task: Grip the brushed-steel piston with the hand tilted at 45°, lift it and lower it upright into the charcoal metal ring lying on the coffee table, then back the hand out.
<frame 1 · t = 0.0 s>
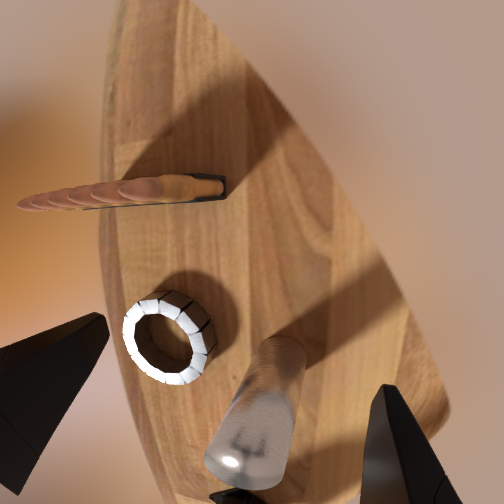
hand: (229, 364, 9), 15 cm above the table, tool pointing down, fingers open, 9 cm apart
piston: (281, 358, 25), on the table
ammunition clip: (166, 191, 25), on the table
ring: (174, 333, 27), on the table
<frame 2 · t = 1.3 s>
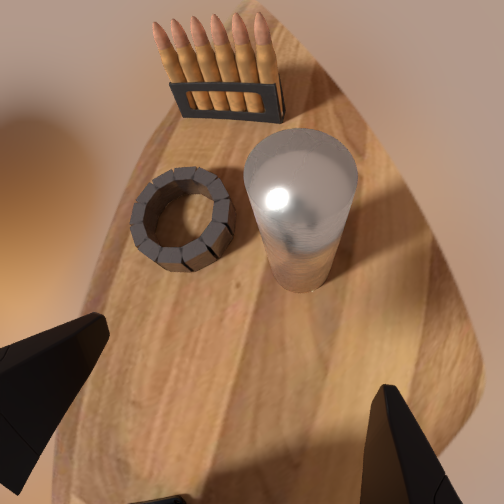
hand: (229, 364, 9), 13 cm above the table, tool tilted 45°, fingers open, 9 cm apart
piston: (301, 264, 23), on the table
ammunition clip: (232, 114, 29), on the table
ring: (187, 224, 26), on the table
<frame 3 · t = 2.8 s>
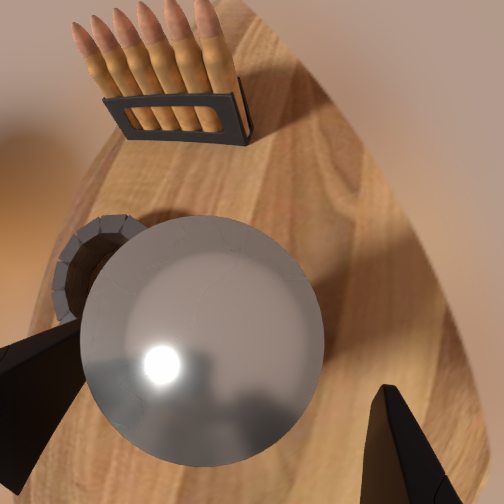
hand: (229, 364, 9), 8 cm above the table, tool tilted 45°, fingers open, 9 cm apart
piston: (262, 353, 16), on the table
ammunition clip: (186, 134, 23), on the table
ring: (121, 288, 19), on the table
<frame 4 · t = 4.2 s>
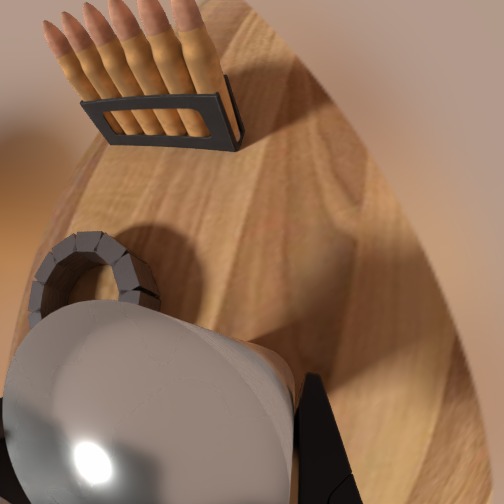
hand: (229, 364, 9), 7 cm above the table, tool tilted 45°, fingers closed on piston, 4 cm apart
piston: (250, 387, 14), on the table, touching gripper
ammunition clip: (171, 138, 21), on the table
ring: (100, 310, 17), on the table
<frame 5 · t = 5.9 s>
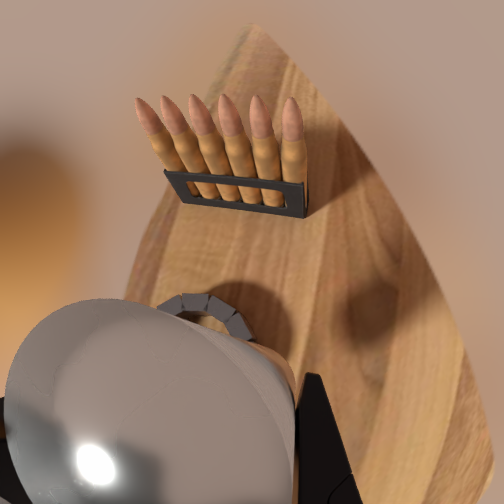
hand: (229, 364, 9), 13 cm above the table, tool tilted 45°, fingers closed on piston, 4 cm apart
piston: (251, 387, 14), point 7 cm above the table, touching gripper
ammunition clip: (243, 201, 26), on the table
ring: (202, 353, 22), on the table
when the fingers open (8 cm above the table, at t = 8.0 s): piston drops 1 cm, resting in ring.
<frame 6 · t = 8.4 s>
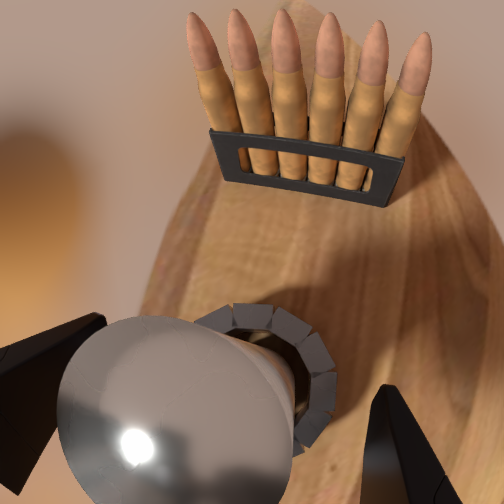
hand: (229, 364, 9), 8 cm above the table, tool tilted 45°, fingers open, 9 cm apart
piston: (254, 385, 16), resting in ring
ammunition clip: (306, 182, 20), on the table
ring: (254, 384, 16), on the table
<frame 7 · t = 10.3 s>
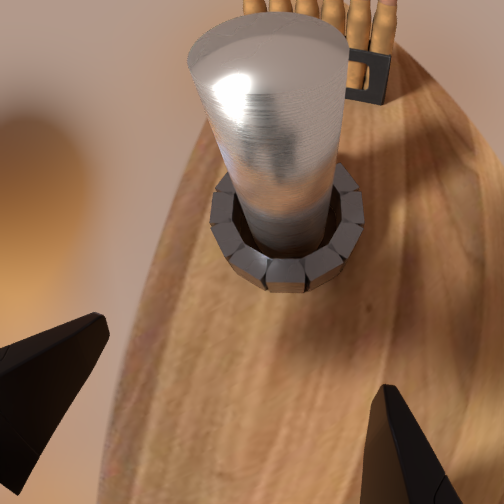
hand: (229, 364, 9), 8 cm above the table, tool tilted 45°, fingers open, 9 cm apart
piston: (288, 226, 19), resting in ring
ammunition clip: (319, 89, 22), on the table
ring: (288, 225, 19), on the table
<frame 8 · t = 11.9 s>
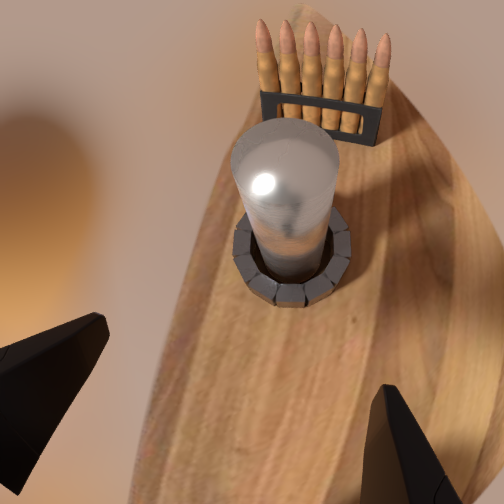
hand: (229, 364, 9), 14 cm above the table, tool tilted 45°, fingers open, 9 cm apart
piston: (292, 255, 24), resting in ring
ammunition clip: (320, 131, 28), on the table
ring: (292, 254, 24), on the table
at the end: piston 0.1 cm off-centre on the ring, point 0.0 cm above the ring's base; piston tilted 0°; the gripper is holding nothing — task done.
